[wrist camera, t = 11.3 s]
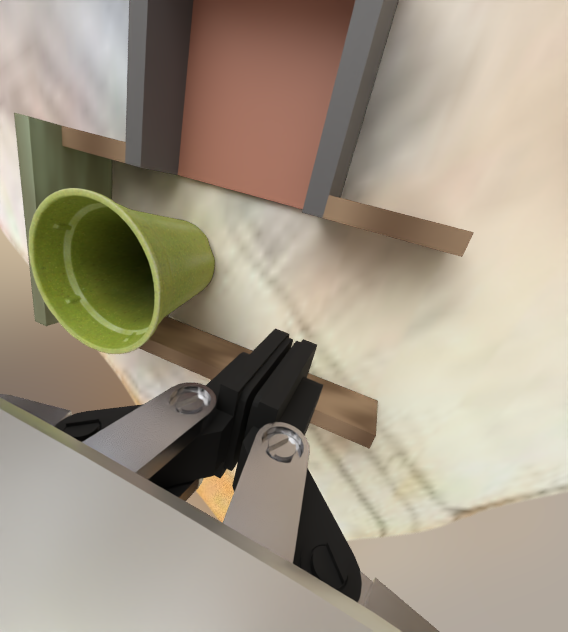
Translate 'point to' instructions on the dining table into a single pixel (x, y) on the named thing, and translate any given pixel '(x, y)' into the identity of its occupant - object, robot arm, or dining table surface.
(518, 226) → the dining table surface
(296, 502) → the robot arm
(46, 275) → the plant pot
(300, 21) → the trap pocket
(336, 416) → the lane
